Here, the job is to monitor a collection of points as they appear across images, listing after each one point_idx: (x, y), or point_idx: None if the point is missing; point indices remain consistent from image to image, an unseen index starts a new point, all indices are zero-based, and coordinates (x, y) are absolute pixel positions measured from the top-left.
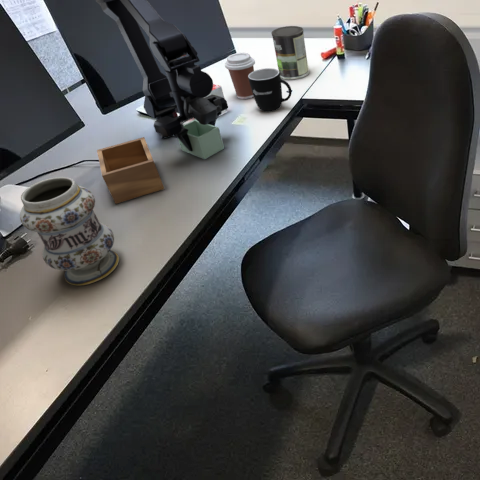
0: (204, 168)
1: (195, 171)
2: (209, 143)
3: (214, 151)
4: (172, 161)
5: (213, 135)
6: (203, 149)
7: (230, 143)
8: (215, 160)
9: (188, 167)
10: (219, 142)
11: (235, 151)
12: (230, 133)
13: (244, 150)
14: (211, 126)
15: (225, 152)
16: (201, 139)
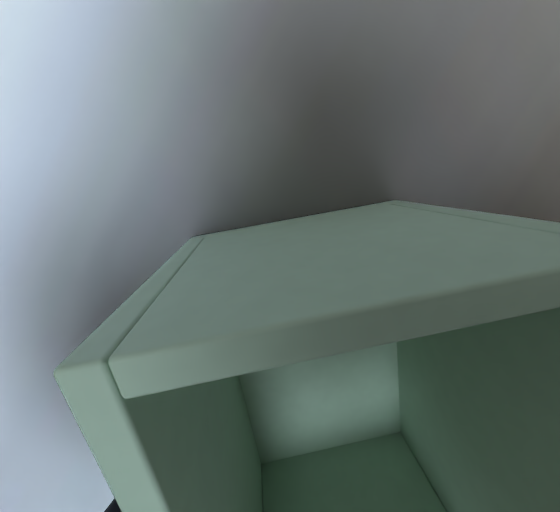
0: (486, 59)
1: (549, 81)
2: (352, 233)
3: (294, 220)
4: None
5: (265, 277)
6: (432, 211)
7: (110, 274)
8: (353, 106)
9: (528, 190)
10: (212, 247)
11: (138, 97)
12: (41, 414)
13: (51, 28)
14: (172, 510)
15: (219, 163)
16: (542, 238)
